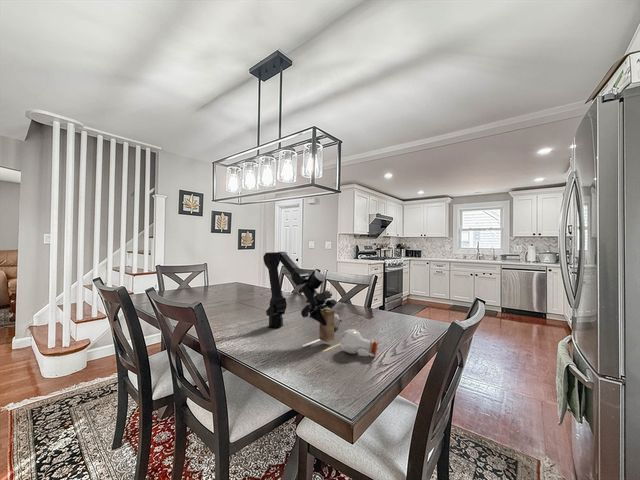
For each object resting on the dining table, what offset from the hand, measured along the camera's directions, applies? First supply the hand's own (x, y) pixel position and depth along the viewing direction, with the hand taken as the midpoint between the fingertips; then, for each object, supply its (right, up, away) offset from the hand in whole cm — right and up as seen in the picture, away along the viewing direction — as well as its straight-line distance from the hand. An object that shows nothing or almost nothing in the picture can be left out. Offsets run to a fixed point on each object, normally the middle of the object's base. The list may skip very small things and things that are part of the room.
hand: (329, 324), depth 118 cm
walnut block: (-1, -7, +1) cm, 7 cm away
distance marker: (+2, -9, -2) cm, 10 cm away
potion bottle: (+12, -9, -9) cm, 17 cm away
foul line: (-5, -9, +5) cm, 12 cm away
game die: (+3, -10, +23) cm, 25 cm away
